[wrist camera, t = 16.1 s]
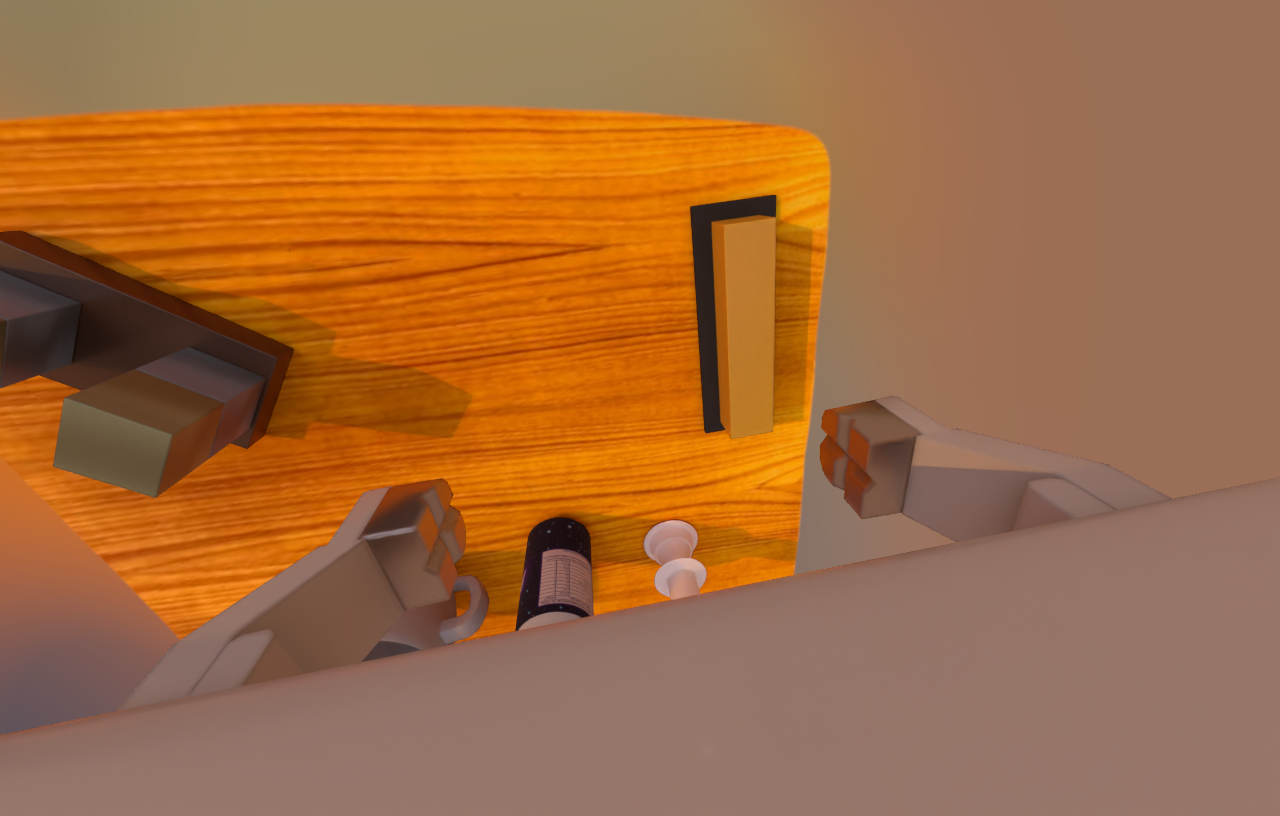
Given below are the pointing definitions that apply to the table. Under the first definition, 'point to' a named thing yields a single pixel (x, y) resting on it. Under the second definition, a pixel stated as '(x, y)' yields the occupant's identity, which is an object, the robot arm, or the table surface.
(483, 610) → the mug
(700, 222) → the mat
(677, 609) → the robot arm
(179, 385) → the tower
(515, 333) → the table surface
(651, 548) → the candle
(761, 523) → the table surface
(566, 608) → the beverage can
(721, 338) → the bar
